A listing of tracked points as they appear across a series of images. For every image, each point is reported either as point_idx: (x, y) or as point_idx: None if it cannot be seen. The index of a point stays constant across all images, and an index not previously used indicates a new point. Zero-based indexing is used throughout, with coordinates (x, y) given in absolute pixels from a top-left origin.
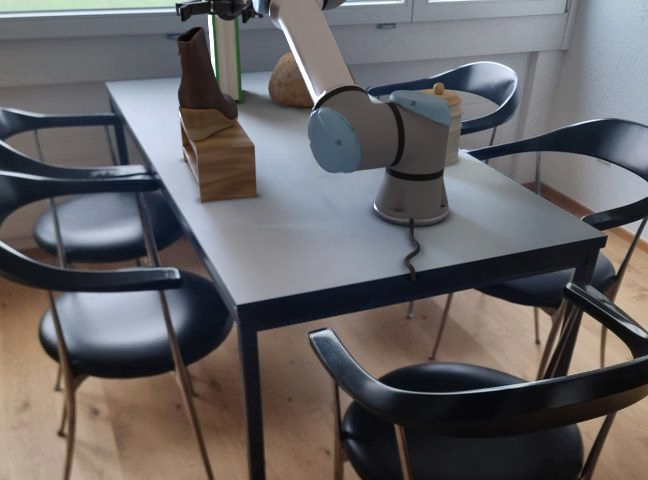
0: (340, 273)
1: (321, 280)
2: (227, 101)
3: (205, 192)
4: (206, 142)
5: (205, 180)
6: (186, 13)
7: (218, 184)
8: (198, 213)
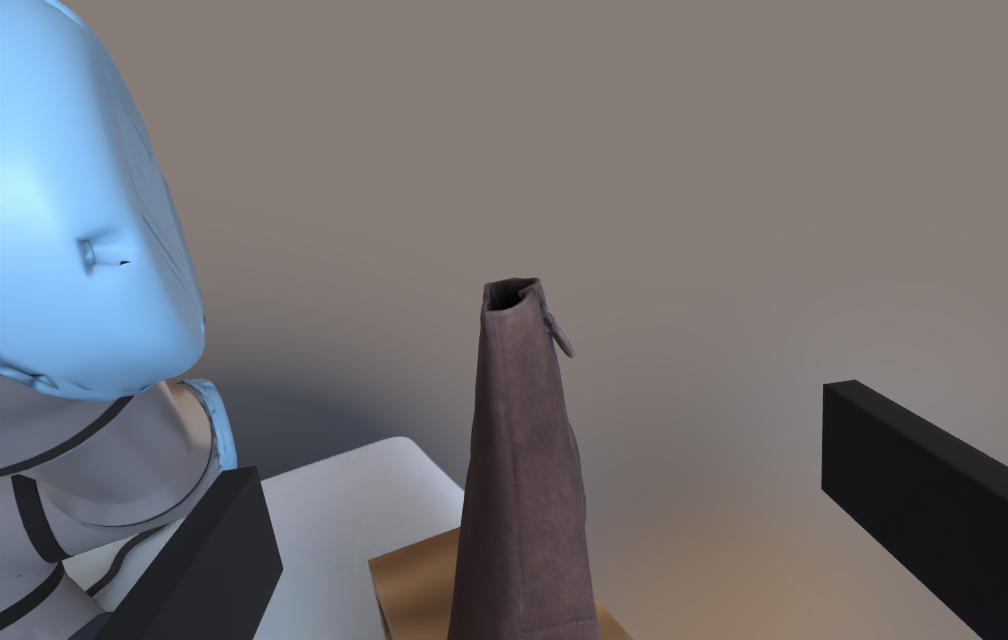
0: (276, 489)
1: (306, 475)
2: (460, 628)
3: None
4: None
5: None
6: (893, 496)
7: None
8: None
